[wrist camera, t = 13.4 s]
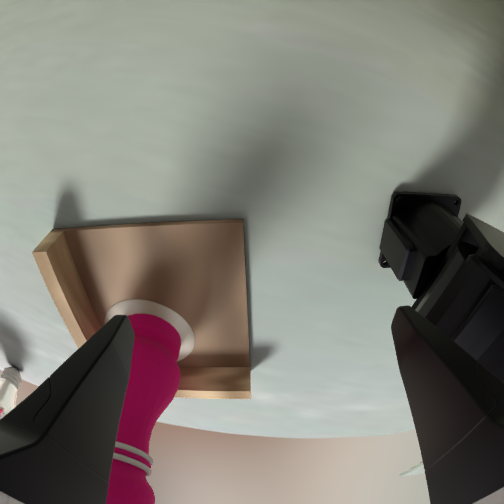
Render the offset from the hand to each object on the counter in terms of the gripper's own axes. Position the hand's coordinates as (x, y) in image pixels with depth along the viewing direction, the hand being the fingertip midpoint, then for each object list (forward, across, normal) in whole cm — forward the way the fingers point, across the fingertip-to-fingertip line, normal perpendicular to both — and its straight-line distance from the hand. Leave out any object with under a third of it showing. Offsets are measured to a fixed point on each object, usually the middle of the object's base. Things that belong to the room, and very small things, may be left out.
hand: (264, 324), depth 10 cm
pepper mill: (+13, +10, +15) cm, 22 cm away
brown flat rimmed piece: (+13, +9, +12) cm, 20 cm away
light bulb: (+13, +37, +26) cm, 47 cm away
